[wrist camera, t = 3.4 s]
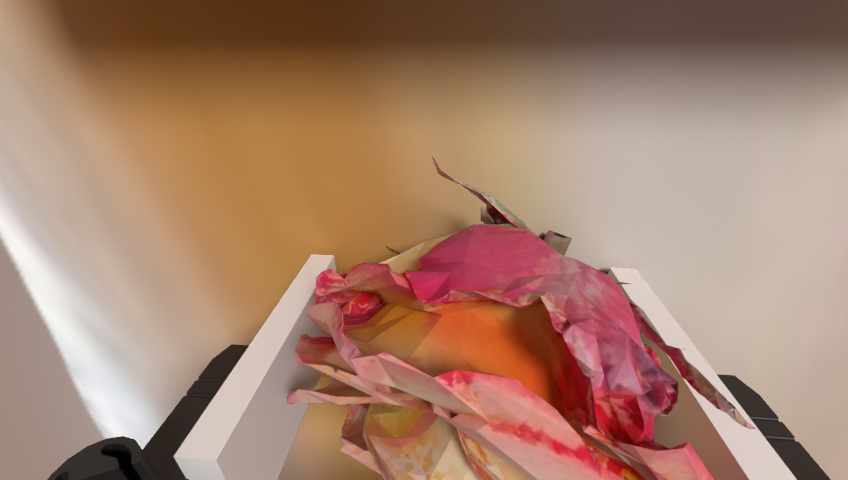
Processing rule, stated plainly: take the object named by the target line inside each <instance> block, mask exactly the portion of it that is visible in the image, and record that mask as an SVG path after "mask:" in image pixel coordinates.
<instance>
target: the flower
mask: <svg viewBox="0 0 848 480" xmlns="http://www.w3.org/2000/svg"><path fill="white" fill-rule="evenodd" d="M432 158H433V157H432ZM433 160H434V158H433ZM434 163H435V166H436V168H437V171H438V174H440V175H442V176H443V177H445V178H447V179H449V180H452V181H454V182H456V183H458V184H461V185H462V186H464V187H465V188H466V189H468V190H469V191H470V192H471V193H473V194H474V195H475V196H477V197H478V198H479V199H481V200H482V201H483V202H485V203H486V204H487V205H486V206H487V208H485V207H482V206H481V221H483V222H484V224H475V225H472V226H470V227H468V228H465V229H462V230H460V231H457V232H454V233H451V234H448V235H445V236H442V237H439V238H434V239H430V240H426V241H424V242H422V243H420V244H418V245H416V246H415V247H413V248H411V249H409V250H407V251H398V250H395V251H398V252H401V254H399V255H397V256H395V257H392V258H390V259H387V260H385V261H383V262H380V263H363V264H359V265H357V266H355V267H353V268H351V269H350V271H349V273H348V274H338V273H336V272H335V271H334V270H333V269H327V270H325V271H322V272H321V273H320V274H319V275H318V276H317V277H316V295H314V297H315V300H316V305H313V306H312V307H311V309H310V310H309V312H308V314H307V316H308V317H309V318H310V319H311V320H312V321H313V322H314V323H315V324H316V325H317V326H318V327H319V328H320V332H321V333H322V334H323V336H324V337H321V336H318V337H310V336H309V335H307V334H304V335H301V337H300V339H299V341H298V344H297V346H296V349H295V355H296V360H297V366H310V367H312V368H314V369H316V370H318V371H321V372H323V373H325V374H327V375H329V376H331V377H333V378H335V380H334V381H333V382H332V383H331V384H330V385H328V386H327V387H326V388H323V389H318V390H314V391H307V390H300V389H298V390H296V391H295V392H293V393H291V394H288V396H287V403H288V404H295V403H330V404H336V405H351V407H350V410H349V413H348V416H347V418H346V420H345V423H344V425H343V428H342V435H343V437H339V441H340V443H342V444H344V446H343V447H342V448H341V449H340V451H341V452H343V453H345V454H347V455H348V456H350V457H352V458H354V459H355V460H357V461H359V462H360V463H362V464H364V465H365V466H367V467H369V468H371V469H372V470H374V471H375V472H377V473H379V474H380V475H382V477H383V479H384V480H714V478H713V477H712V476H711V474H710V473H709V471H708V470H707V468H706V467H705V465H704V464H703V462H702V461H701V460H700V458H699V457H698V455H697V454H696V452H695V451H694V449H693V448H692V446H691V445H690V443H689V442H687V443H683V444H680V445H677V446H674V447H670V448H667V447H665V446H663V445H661V444H658V443H656V442H654V432H653V421H654V419H655V416H656V413H658V414H660V415H662V416H663V417H664V416H668V415H669V414H670V412H671V411H672V409H673V408H674V406H675V405H676V403H677V401H678V382H677V381H676V380H675V379H674V378H672V377H671V376H670V375H669V374H668V373H666V372H665V371H664V370H663V369H662V367H661V363H660V359H659V357H658V356H657V355H656V353H655V352H654V350H653V349H652V347H650V346H648V345H646V344H644V343H643V342H642V340H641V333H642V334H643V335H645V336H646V337H647V338H649V339H650V340H652V341H653V342H654V343H655V344H656V345H657V346H658V347H660V348H661V349H662V350H663V351H664V352H665V353H666V354H667V355H668V356H669V357H670V358H671V360H672V361H673V363H674V364H675V366H676V367H677V369H678V370H679V372H680V374H681V376H682V377H683V379H686V381H687V382H688V383H689V384H690V385H691V386H692V387H693V388H694V389H695V390H696V391H697V392H698V393H699V394H700V395H702V396H703V397H705V398H706V399H707V400H708V401H709V402H710V403H712V404H713V405H714V406H715V408H717V409H719V410H721V411H723V412H725V413H727V414H728V415H729V416H730V417H731V418H732V419H733V420H735V421H736V422H737V423H739V424H741V425H743V426H744V427H746V428H748V429H756V428H755V427H754V426H752V425H751V424H750V423H749V422H747V421H746V420H745V419H744V418H743V416H742V415H741V414H740V413H739V411H738V410H737V409H736V408H735V406H734V405H733V404H732V403H731V402H729V401H727V399H726V398H725V397H724V396H723V395H722V394H721V393H720V392H719V391H718V390H717V389H716V388H715V387H714V386H713V385H712V384H711V383H710V382H709V381H708V380H707V379H706V378H705V377H704V376H703V375H702V374H701V373H700V372H699V371H698V370H697V369H696V368H695V367H694V366H693V365H692V364H690V363H689V362H688V361H687V360H686V359H685V357H684V355H683V353H682V351H681V349H679V348H675V347H672V346H668V345H667V344H666V343H665V341H664V340H663V338H662V337H661V335H660V334H659V333H658V331H657V330H656V328H655V327H654V325H653V324H652V322H651V321H650V319H649V318H648V316H647V315H646V313H645V312H644V311H643V310H642V309H641V308H640V307H639V306H638V305H637V304H635V303H634V302H633V301H632V300H631V299H630V298H629V297H627V296H626V295H625V294H624V292H623V290H622V289H621V288H620V287H619V286H618V285H619V284H630V283H624V282H618V281H613V279H612V278H611V277H610V276H609V275H607V274H605V273H603V272H601V271H599V270H597V269H595V268H593V267H590V266H588V265H586V264H584V263H582V262H580V261H578V260H575V259H572V258H569V257H566V256H564V255H565V252H566V250H567V248H568V246H569V244H570V241H571V239H572V238H569V237H566V236H563V235H561V234H558V233H555V232H552V231H550V230H549V231H548V233H547V234H546V236H545V237H544V239H543V240H541V239H540V238H539V237H538V236H536V235H535V234H534V233H532V232H531V231H530V230H529V229H528V227H527V226H526V225H525V224H524V223H523V222H522V221H521V220H520V219H519V218H517V217H516V216H515V215H514V214H513V213H512V212H510V211H509V210H508V209H507V208H506V207H505V206H503V205H502V204H501V203H500V202H499V201H498V200H496V199H495V198H493V197H491V196H489V195H487V194H485V193H483V192H481V191H479V190H477V189H475V188H473V187H471V186H469V185H467V184H465V183H463V182H460V181H458V180H456V179H454V178H451V177H449V176H448V175H446V174H445V173H443V172H442V171H441V170H440V168H439V167H438V165H437V163H436V162H435V160H434ZM491 218H492V219H493V221H494V223H493V221H492V219H491ZM387 247H388V246H387ZM389 248H390V247H389ZM390 249H391V248H390ZM391 250H394V249H391ZM320 285H321V286H320ZM340 305H345V306H344V307H343V308H342V309H340V308H339V306H340ZM684 350H685V348H684ZM718 394H719V395H718ZM666 396H667V397H666ZM669 400H670V402H671V404H669ZM665 405H666V407H665ZM731 409H733V410H731Z"/></svg>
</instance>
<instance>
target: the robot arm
mask: <svg viewBox="0 0 848 480" xmlns="http://www.w3.org/2000/svg"><path fill="white" fill-rule="evenodd" d="M327 269H333V270H334V271H335V272H336V265H335V258H334V255H314V254H311V256H310V257H309V259H308V260H307V262H306V263H305V265H304V266H303V268H302V269H301V271H300V272H299V273H298V275H297V276H296V278H295V279H294V281H293V282H292V284H291V285H290V287H289V288H288V290H287V291H286V292H285V294H284V295H283V297H282V298H281V300H280V301H279V303H278V304H277V306H276V307H275V309H274V310H273V312H272V313H271V314H270V316H269V317H268V319H267V320H266V322H265V323H264V325H263V326H262V328H261V329H260V331H259V332H258V333H257V335H256V336H255V338H254V339H253V341H252V342H251V344H250V345H249V346H246V345H230V346H229V347H228V348H226V349H225V350H224V351H223V352H221V353H220V354H219V355H217V356H216V357H215V358H213V359H212V360H211V362H210V363H209V364H208V366H207V367H206V368H205V370H204V371H203V372H202V373H201V375H200V376H199V379H198V381H195V383H194V384H193V385H192V386H191V388H190V389H189V390H188V392H187V395H186V396H184V397H183V398H182V399H181V401H180V402H179V403H178V405H177V406H176V407H175V409H174V410H173V411H172V412H171V414H170V415H169V416H168V418H167V419H166V420H165V422H164V423H163V424H162V425H161V427H160V428H159V429H158V431H157V432H156V433H155V435H154V436H153V437H152V438H151V440H150V441H149V442H148V444H147V445H146V446H145V448H144V449H143V450H142V449H141V448H140V446H139V445H138V443H137V442H136V441H135V440H134V439H130V438H127V437H123V436H122V437H115V438H108V439H105V440H102V441H100V442H97V443H95V444H92V445H90V446H88V447H86V448H84V449H83V450H81V451H80V452H78V453H77V454H75V455H74V456H72V457H71V458H69V459H68V460H67V461H66V462H64V463H63V464H62V465H61V466H60V467H59V468H58V469H57V470H56V471H55V472H54V473H53V474H51V476H50V477H49V478H48V480H278V477H279V475H280V472H281V470H282V468H283V465H284V463H285V460H286V458H287V455H288V453H289V451H290V448H291V446H292V443H293V441H294V438H295V436H296V434H297V431H298V429H299V426H300V424H301V421H302V419H303V417H304V414H305V412H306V409H307V407H308V404H309V403H295V404H288V403H287V396H288V394H291V393H293V392H295V391H296V390H298V389H300V390H307V391H314V390H315V387H316V385H317V383H318V380H319V378H320V375H321V373H322V372H321V371H318V370H316V369H314V368H312V367H310V366H297V360H296V355H295V349H296V346H297V344H298V341H299V339H300V337H301V335H304V334H307V335H309V336H310V337H318V336H321V337H324V336H323V334H322V333H321V332H320V328H319V327H318V326H317V325H316V324H315V323H314V322H313V321H312V320H311V319H310V318H309V317H308V316H307V314H308V312H309V310H310V309H311V307H312V306H313V305H316V300H315V297H314V295H316V277H317V276H318V275H319V274H320V273H321V272H322V271H325V270H327ZM336 273H337V272H336ZM608 275H609V276H610V277H611V278H612V279H613V281H618V282H624V283H630V284H619V285H618V286H619V287H620V288H621V289H622V290H623V292H624V294H625V295H626V296H627V297H629V298H630V299H631V300H632V301H633V302H634V303H635V304H637V305H638V306H639V307H640V308H641V309H642V310H643V311H644V312H645V313H646V315H647V316H648V318H649V319H650V321H651V322H652V324H653V325H654V327H655V328H656V330H657V331H658V333H659V334H660V335H661V337H662V338H663V340H664V341H665V343H666V344H667V345H668V346H672V347H675V348H679V349H681V351H682V353H683V355H684V357H685V359H686V360H687V361H688V362H689V363H690V364H692V365H693V366H694V367H695V368H696V369H697V370H698V371H699V372H700V373H701V374H702V375H703V376H704V377H705V378H706V379H707V380H708V381H709V382H710V383H711V384H712V385H713V386H714V387H715V388H716V389H717V390H718V391H719V392H720V393H721V394H722V395H723V396H724V397H725V398H726V399H727V401H729V402H731V403H732V404H733V405H734V406H735V408H736V409H737V410H738V411H739V413H740V414H741V415H742V416H743V418H744V419H745V420H746V421H747V422H749V423H750V424H751V425H752V426H754V427H755V428H756V429H748V428H746V427H744V426H743V425H741V424H739V423H737V422H736V421H735V420H733V419H732V418H731V417H730V416H729V415H728V414H727V413H725V412H723V411H721V410H719V409H717V408H715V406H714V405H713V404H712V403H710V402H709V401H708V400H707V399H706V398H705V397H703V396H702V395H700V394H699V393H698V392H697V391H696V390H695V389H694V388H693V387H692V386H691V385H690V384H689V383H688V382H687V381H686V379H683V377H682V376H681V374H680V372H679V370H678V369H677V367H676V366H675V364H674V363H673V361H672V360H671V358H670V357H669V356H668V355H667V354H666V353H665V352H664V351H663V350H662V349H661V348H660V347H658V346H657V345H656V344H655V343H654V342H653V341H652V340H650V339H649V338H647V337H646V336H645V335H643V334H642V333H641V340H642V342H643V343H644V344H646V345H648V346H650V347H652V349H653V350H654V352H655V353H656V355H657V356H658V357H659V359H660V363H661V367H662V369H663V370H664V371H665V372H666V373H668V374H669V375H670V376H671V377H672V378H674V379H675V380H676V381H677V382H678V401H677V403H676V405H675V406H674V408H673V409H672V411H671V412H670V414H669V415H668V416H664V417H663V416H662V415H660V414H658V413H656V416H655V419H654V421H653V432H654V442H656V443H658V444H661V445H663V446H665V447H667V448H670V447H674V446H677V445H680V444H683V443H687V442H689V443H690V445H691V446H692V448H693V449H694V451H695V452H696V454H697V455H698V457H699V458H700V460H701V461H702V462H703V464H704V465H705V467H706V468H707V470H708V471H709V473H710V474H711V476H712V477H713V478H714V480H830V479H829V477H828V476H827V475H826V474H825V473H824V471H823V470H822V469H821V468H820V467H819V465H818V464H817V463H816V462H815V461H814V460H813V458H812V457H811V456H810V455H809V454H808V452H807V451H806V450H805V449H804V448H803V446H802V445H801V444H800V443H799V442H796V441H795V440H794V436H793V435H792V433H791V432H790V431H789V430H788V429H787V427H786V426H785V425H784V424H783V423H782V422H779V421H778V417H777V415H776V414H775V413H774V412H773V411H772V410H771V408H770V407H769V406H768V405H767V404H766V402H765V401H764V400H763V399H762V398H761V396H760V395H759V394H757V393H756V392H755V391H753V390H752V389H751V388H750V387H748V386H747V385H746V384H744V383H743V382H742V381H740V380H739V379H738V378H737V377H735V376H732V375H717V374H716V373H715V372H714V370H713V369H712V368H711V367H710V365H709V364H708V363H707V361H706V360H705V359H704V357H703V356H702V355H701V353H700V352H699V351H698V350H697V348H696V347H695V346H694V344H693V343H692V342H691V340H690V339H689V338H688V336H687V335H686V334H685V333H684V331H683V330H682V329H681V327H680V326H679V325H678V323H677V322H676V321H675V319H674V318H673V317H672V316H671V314H670V313H669V312H668V310H667V309H666V308H665V306H664V305H663V304H662V302H661V301H660V300H659V299H658V297H657V296H656V295H655V293H654V292H653V291H652V289H651V288H650V287H649V285H648V284H647V283H646V282H645V280H644V279H643V278H642V276H641V275H640V274H639V272H638V271H637V270H636V269H634V268H611V267H610V269H609V272H608ZM320 286H321V285H320ZM339 308H340V309H342V306H341V305H340V306H339ZM684 348H685V350H684ZM718 395H719V394H718ZM666 397H667V396H666ZM669 404H671V402H670V400H669ZM665 407H666V405H665ZM731 410H733V409H731Z"/></svg>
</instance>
